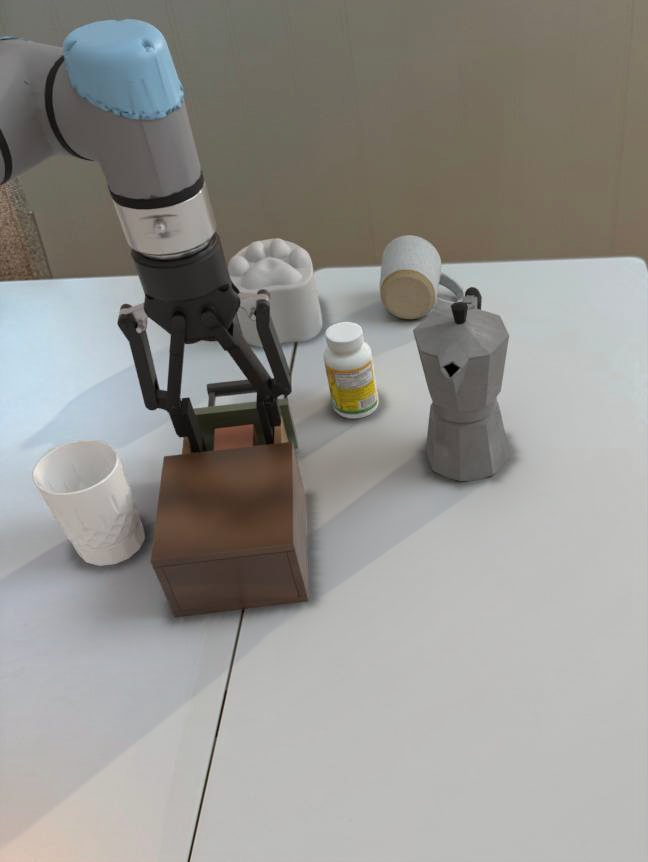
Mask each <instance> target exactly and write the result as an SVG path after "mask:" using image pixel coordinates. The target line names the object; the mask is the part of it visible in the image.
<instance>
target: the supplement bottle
mask: <svg viewBox="0 0 648 862" xmlns="http://www.w3.org/2000/svg"><path fill="white" fill-rule="evenodd" d="M363 331H364V330H363V328H362V327H361V326H360V325H359V324H358V323H355V322H352V321H341V322H336V323H333V324H332V325H330V326H329V327H328V328H327V329H326V330H325V340H326V341H325V342H326V348H325V349H324V352H323V363H324V368H325V373H326V378H327V383H328V389H329V394H330V399H331V404H332V408H333V410H334V411H335V412H336V413H337V414H338V415H339V416H341V417H342V418H345V419H351V420H352V419H361V418H365V417H368V416H369V415H372V414H373V413H374V412H375V411H376V410H377V408H378V406H379V403H380V401H379V400H380V399H379V393H378V386H377V378H376V373H375V372H376V371H375V366H374V365H375V364H374V359H373V353H372V348H371V347H370V345H369V344H368V343H367V342H366V341H365V337H364V332H363Z"/></svg>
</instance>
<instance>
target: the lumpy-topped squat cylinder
mask: <svg viewBox="0 0 648 862" xmlns="http://www.w3.org/2000/svg"><path fill="white" fill-rule="evenodd" d="M227 268H228V271H229V275H230V278H231V280H232V282H233V284H234V285H235V286H236V287H237V288H238V289H239V291H240V292H242V293H250V294H257V292H258V291H259V290H261V289H265V290H267V291H268V292H269V293H270V316H271V318H272V321H273V324H274V327H275V330H276V333H277V335H278V338H279V341H280V344H286V343H297V342H298V343H299V342H305V341H309V340H311V339H313V338H315V337H316V336H317V335H318V334H319V333H321V330H322V328H323V314H322V310H321V303H320V299H319V293H318V288H317V281H316V277H315V271H314V266H313V261H312V258H311V255H310V254H309V252H308V251H307V250H306V249H304V248H303V247H302V246H299V245H298V244H296V243H294V242H291V241H288V240H283V239H281V238H279V237H277V238H267V239H263V240H255V241H253V242H250V244H249V245H247V246H245V247H243V248H241V249H240V250H239V251H238V252H237V253H235V255H233V256H232V257H231V258H230V259H229V261H228V264H227ZM236 315H237V319H238V322H239V326H240V330H241V335H242V336H243V338H244V339H245V341H246V342H247V343H248V345H249V346H254V347H256V348H263V346H262V343H261V341H260V338H259V335H258V332H257V328H256V321H252V320H251V319H250V318H249V317H248V316H247V312H246V311H245V310H244V309H243V308H240V307H239V309H238V311H237V313H236Z"/></svg>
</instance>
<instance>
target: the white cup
mask: <svg viewBox="0 0 648 862" xmlns="http://www.w3.org/2000/svg"><path fill="white" fill-rule="evenodd" d="M31 478H32V481H33V484H34V486H35V487H36V490H37V491H38V493H39V494H40V496H41V497H42V499H43V501H44V502H45V505H46V506H47V507H48V509H49V511H50V513H51V514H52V515H53V517H54V519H55V520H56V522H57V524H58V525H59V527H60V528H61V530H62V532H63V534H64V535H65V537H66V538H67V539H68V540H69V542H70V543H71V544H72V546H73V548H74V549H75V551H76V553H77V554H78V556H80V558H81V559H82V560H83V561H84V562H86V563H87V564H90V565H91V564H92V565H94V566H98V567H102V566H113V565H116V564H119V563H121V562H124V561H126V560H129V559H130V558H131V557H133V556H134V555H135V554H136V553H137V552H139V551H140V550H141V548H142V547H143V544H144V542H145V540H146V535H145V529H144V525H143V522H142V521H141V517H140V513H139V510H138V506H137V503H136V501H135V497H134V495H133V492H132V491H133V490H132V488H131V485H130V483H129V479H128V477H127V474H126V472H125V469H124V466H123V464H122V461H121V459H120V455H119V453H118V451H117V450H116V448H115V447H114V446H112V445H111V444H109V443H108V442H105V441H102V440H97V439H79V440H74V441H73V440H72V441H70V442H69V441H68V442H66V443H63V444H61V445H59V446H57V447H56V446H55V448H53V449H51V450H50V451H48V452H46V453H45V454H44V455H43V456H41V457H40V459H39V460H38V461H37V462H36V464H35V465H34V467H33V470H32V474H31Z"/></svg>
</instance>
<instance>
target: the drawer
mask: <svg viewBox="0 0 648 862" xmlns="http://www.w3.org/2000/svg"><path fill="white" fill-rule="evenodd" d="M206 392H207V396H208V403H207V406H203V407H193V409H194V412H195V415H196V418H197V421H198V425H199V428H200V431H201V434H202V437H203V440H204V443H205V446H206V449H207V451H214V433H215V429H218V428H226V427H234V426H242V425H251V424H253V425H254V428H255V432H256V435H257V439H258V443H259V445H267V444H266V441H265V437H264V433H263V429H262V426H261V422H260V418H259V415H258V411H257V407H256V401H249V402H241V403H230V404H222V405H216V400H217V398H221V397H230V396H238V395H247V394H255V393H256V394H257V392H256V390H255V389H254V387H253V386H252V385H251V383H250V382H249V381H248V379H247V378H246V379H239V380H229V381H220V382H211V383H210V382H209V383H207V384H206ZM278 402H279V406H280V410H281V425H280V426H276V427H274V444H276V443H285V442H293V446H294V450H296V449H299V438H298V434H297V431H296V425H295V421H294V417H293V414H292V413H293V412H292V410H291V409H292V408H291V405H290V404H291V403H290V400H289V398H288V397H285V398H278ZM181 447H182V448H181V454H189V453H193V451H192V448H191V445H190V442H189V439H188V437H182V446H181Z"/></svg>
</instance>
